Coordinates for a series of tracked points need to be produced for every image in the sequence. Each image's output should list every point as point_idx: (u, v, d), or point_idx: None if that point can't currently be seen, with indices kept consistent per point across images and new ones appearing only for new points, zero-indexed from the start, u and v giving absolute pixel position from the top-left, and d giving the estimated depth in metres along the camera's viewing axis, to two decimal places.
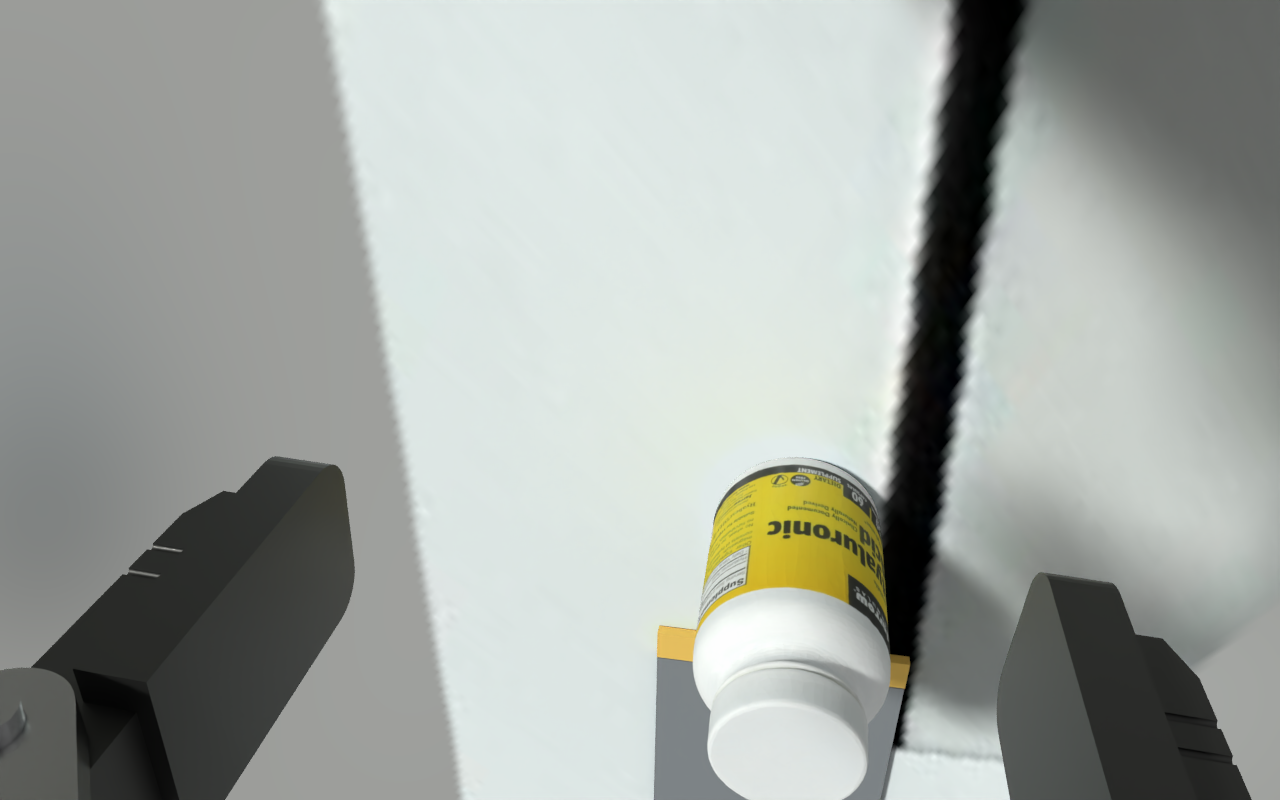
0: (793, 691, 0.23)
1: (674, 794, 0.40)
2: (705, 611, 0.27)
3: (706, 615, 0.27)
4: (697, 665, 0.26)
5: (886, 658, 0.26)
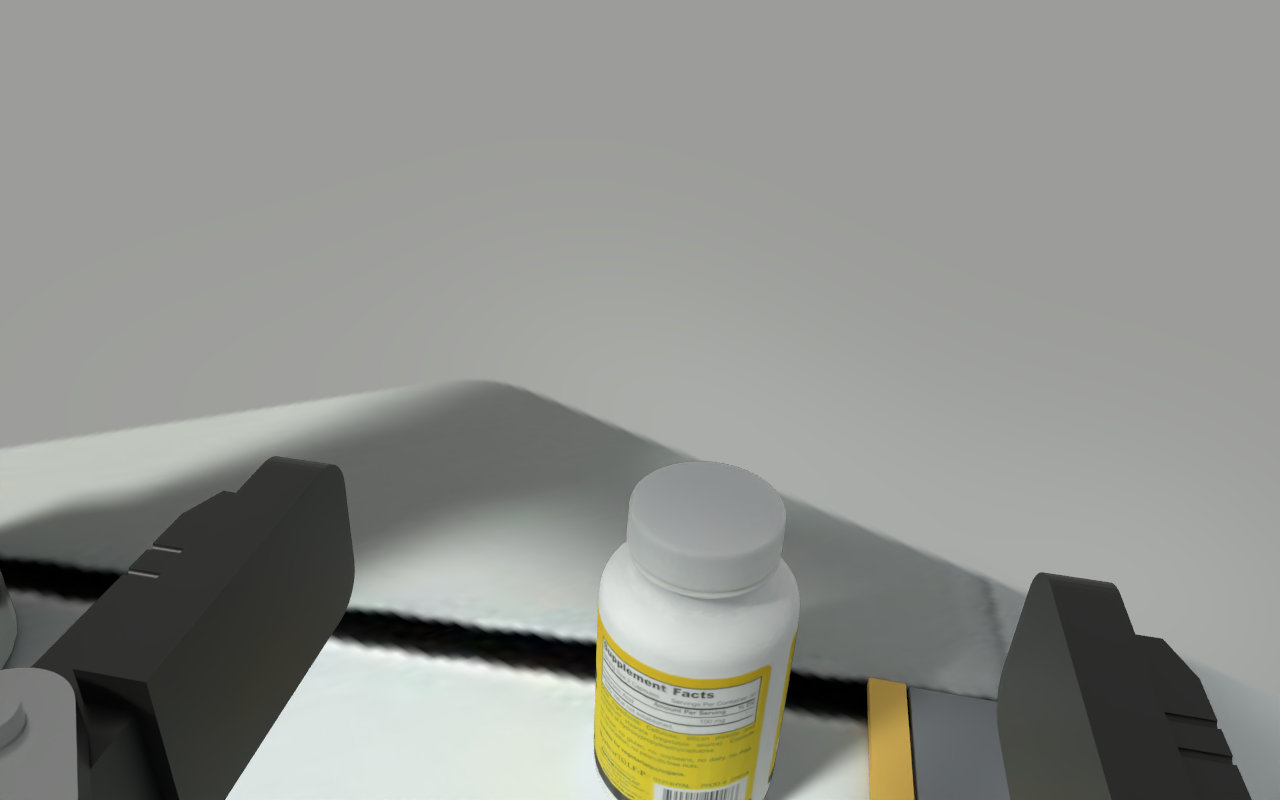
0: None
1: None
2: (641, 673, 0.24)
3: (637, 663, 0.24)
4: (677, 645, 0.24)
5: None
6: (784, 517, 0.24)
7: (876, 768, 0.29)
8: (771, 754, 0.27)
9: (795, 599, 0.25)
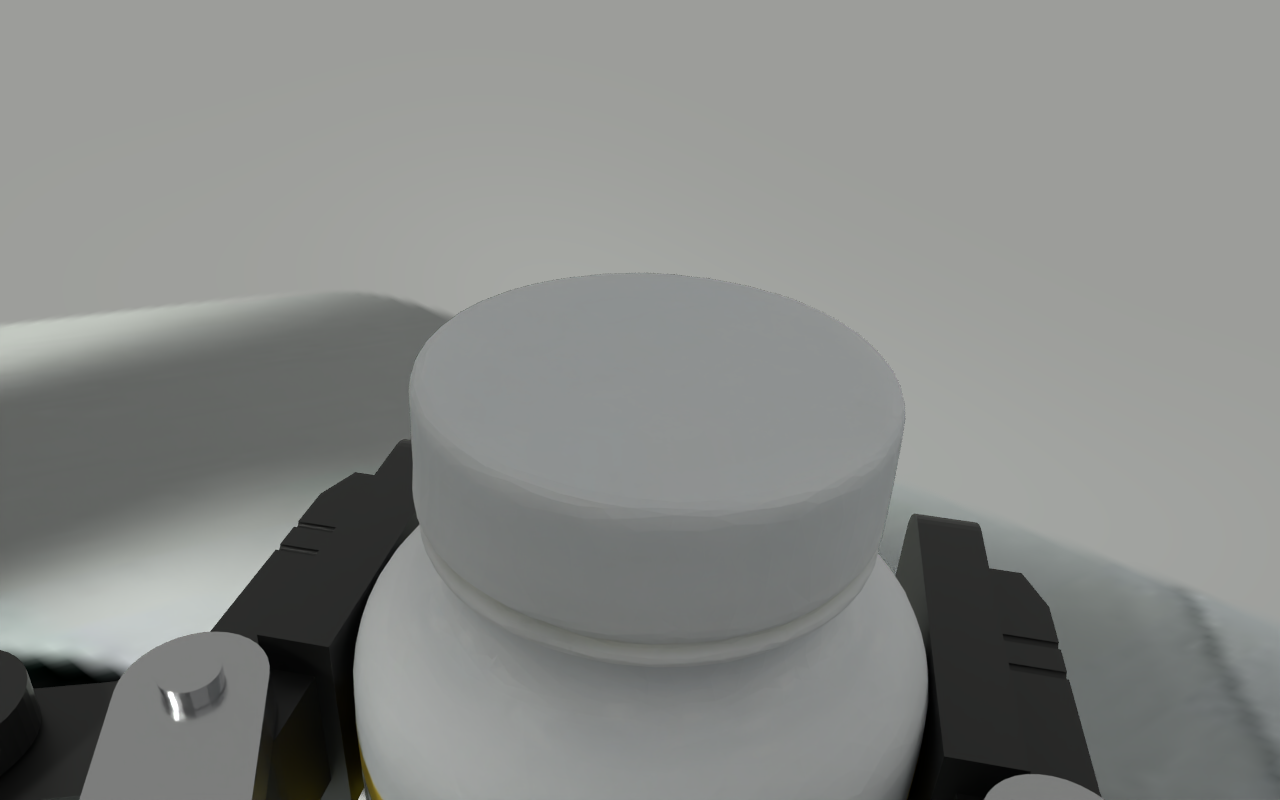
0: None
1: None
2: None
3: None
4: None
5: None
6: (900, 401, 0.08)
7: None
8: None
9: (919, 656, 0.09)
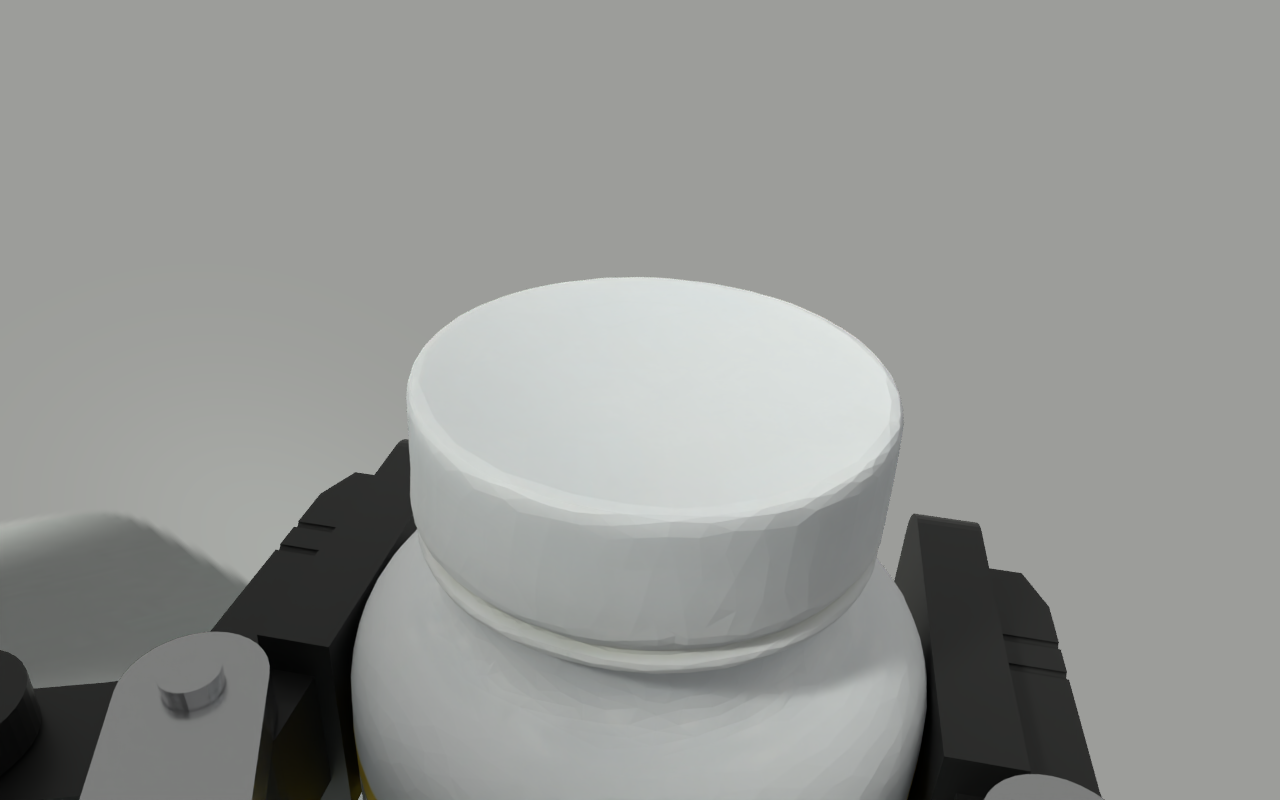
0: None
1: None
2: None
3: None
4: None
5: None
6: (898, 406, 0.08)
7: None
8: None
9: (917, 661, 0.09)
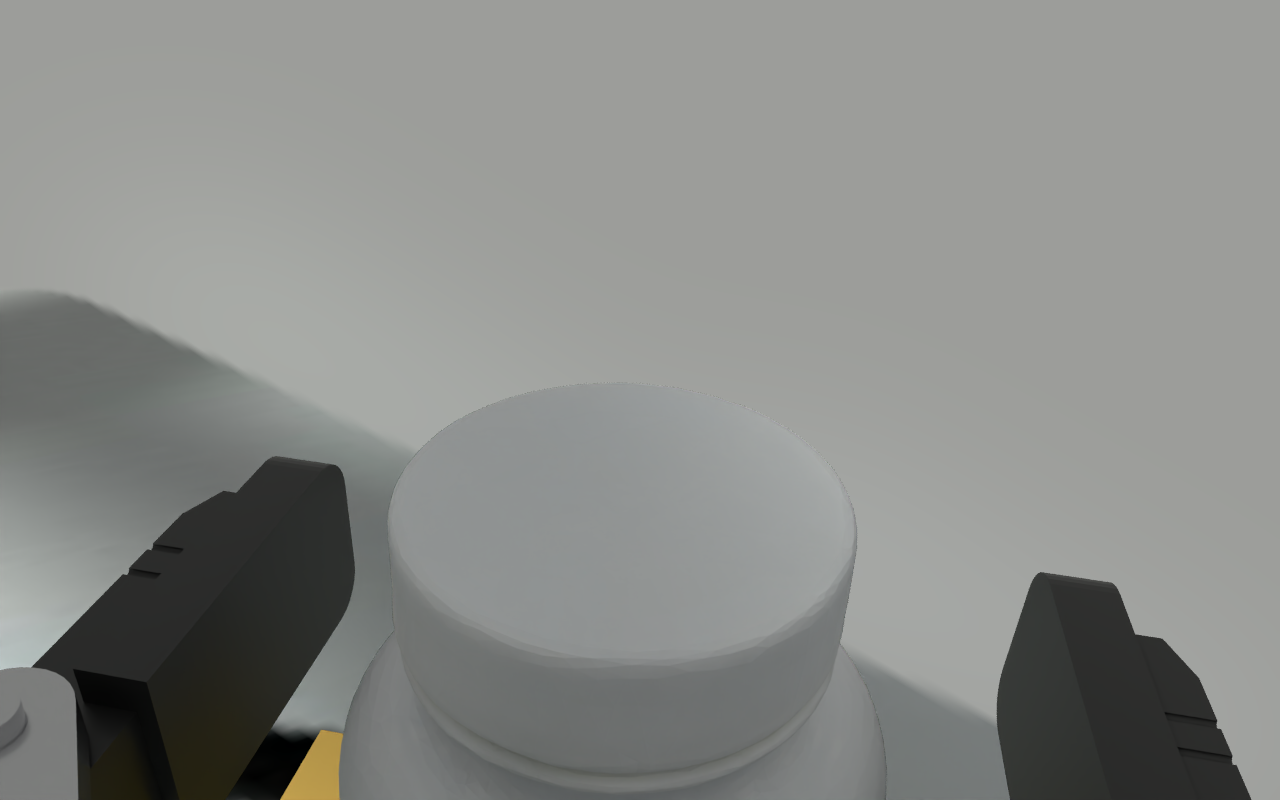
0: None
1: None
2: None
3: None
4: None
5: None
6: (852, 530, 0.08)
7: None
8: None
9: (876, 757, 0.09)
